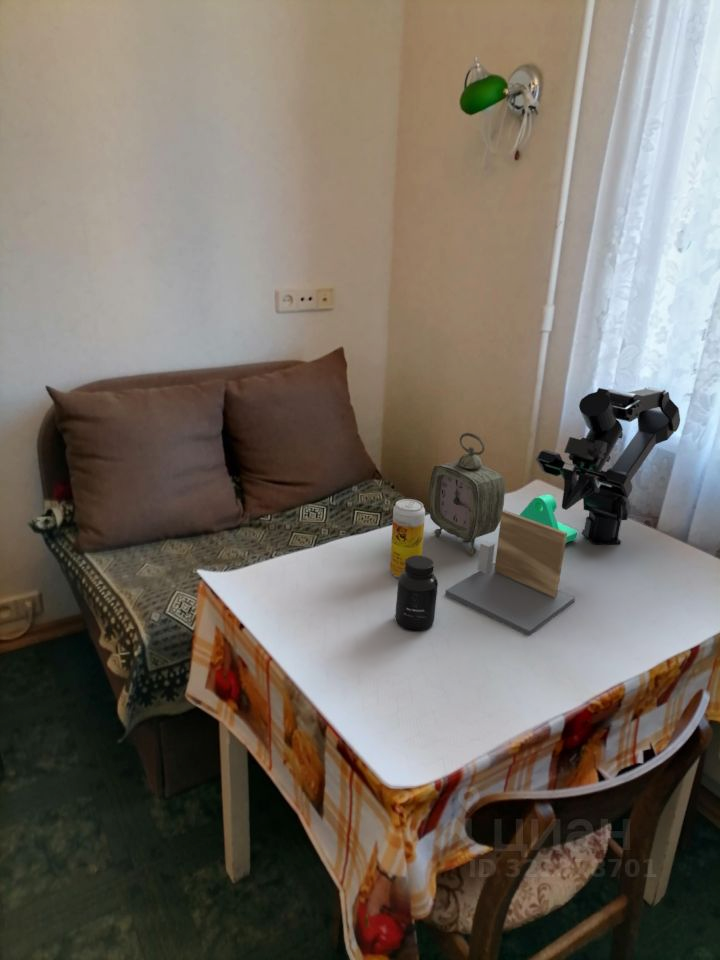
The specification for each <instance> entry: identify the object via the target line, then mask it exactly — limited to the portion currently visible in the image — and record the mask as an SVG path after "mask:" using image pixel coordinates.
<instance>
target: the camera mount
mask: <svg viewBox="0 0 720 960" xmlns="http://www.w3.org/2000/svg"><path fill="white" fill-rule="evenodd" d="M557 505H558V504H557V501H556V499H555V498H554V496H553V495H551V494H547V493H546V494H543V495H539V496H537V497H534V498H533V499H532V500H531V501H530V502H529V503H528V505H527V506H526V507H525V508H524V509H523V510H522V511H521V513H519V514H518V515H519V516H522V517H525V518H528V519H530V520H533V521H536V522H539V523H541V524H544V525H547V526H550V527H552V528H555V529H558V530H561V531H563V532H566V533H567V538H566V543H570V542H572V541H574V540H576V539H577V537H578V530H577V529H574V528H572V527H569V526H567V525H566V524H563V523H561V522H559V521H557V519H556V516H555V512H556V510H557V507H558V506H557Z"/></svg>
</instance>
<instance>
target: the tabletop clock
mask: <svg viewBox="0 0 720 960" xmlns="http://www.w3.org/2000/svg"><path fill="white" fill-rule="evenodd" d="M464 437H471V438H474V439H475V440H477V441H478V442H479V443H480V445H481V451H476V450H475V447H473V446H469V447H467V446H465V445H464V444H463V439H464ZM459 445H460V446H461V449H463V450H464V451H465V452H467V453H466V454H462V455H461V456H460V457H459V460H458V459H457V460H455V461H450V462H447V463H443V464H438V465H435V466H434V467H433V469H432V472H431V477H430V483H429V490H428V511H429V517H430V520H431V521H432V522H433V523H434V524H435V526H438V527H439V528H436V529H435V530H434V532H433V534H434V535H435V536H436V537H439V536H441V535H442V531H443V530H444V531H445V532H447V533H449V534H450V535H453V536H455V537H457V538H459V539H462V540H465V541H466V540H467V541H470V548H469V549H468V554H469V555H470V556H474V555H476V554H477V549H476V547H475V541H476V539H477V538H479V537H483V536H485V535H488V534H491V533H495V531H496V530H497V528H498V526H499V525H500V521H501V513H502V511H504V506H505V505H504V503H505V494H506V483H505V478H504V477H503V475H502V474H501V473H499V472H497V471H496V470H493V469H491V468H489V467H487V466H485V465H483V462H482V459H481V458H480V456H478V455H482V454H483V453H484V452H485V448H486V447H485V444H484V441H483V439H482V438H480V437H479V436H478V435H477V434H474V433H471V432H465V433H462V434H461V436H460V437H459Z"/></svg>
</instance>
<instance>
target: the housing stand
mask: <svg viewBox="0 0 720 960" xmlns="http://www.w3.org/2000/svg"><path fill="white" fill-rule="evenodd" d="M495 546H496V544H495V542H492V541H489V540H484V541H482V542H480V546H479V554H478V556H479V557H478V564H477V571H476V572H475V573H473V574H471V575H469V576H468V577H466V578H465V579H463V580H461V581H459V582H457V583H456V584H454V585H452V586H451V587H449V588H447V589H445V596H447V597H449V598H451V599H453V600H455V601H457V602H459V603H462V604H463V605H465V606H467V607H470V609H471V608H472V609H474V610H475V611H477V612H479V613H481V614H483V615H486V616H487V617H490V618H492V619H494V620H495V621H498V622H500V623H502V624H504V625H506V626H508V627H510V628H512V629H514V630H516V631H518V632H520V633H522V634H524V635H526V636H528V637H530V636H531V635H532V634H533V633H535V632H536V631H537V630H539V629H540V628H541V627H543V626H544V625H545V624H547V623H548V622H550V621H551V620H552V619H554V618H555V617H556V616H558V614H561V613H562V611H564V610H565V609H567V608H568V607H570V606H571V605H572V604H574V603H575V600H576V597H575V596H573V595H571V594H568V593H567V592H564V591H562V590H560V589H558V593H557V596H556V597H552V596H550V595H547V594H545V593H543V592H541V591H538V590H536V589H534V588H531V587H529V586H527V585H525V584H522V583H520V582H518V581H515V580H513V579H511V578H509V577H506V576H504V575H502V574H500V573H497V572H495V571H494V570H495V562H493V561H494V554H495Z"/></svg>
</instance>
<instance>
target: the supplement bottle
mask: <svg viewBox="0 0 720 960" xmlns="http://www.w3.org/2000/svg"><path fill="white" fill-rule="evenodd" d="M434 567H435V564H434V561H433V559H431V558H430V557H427V556H424V555H422V556H411V557H409V558H407V560H406V564H405V571H404V572H402V573H401V575H400V576H399V578H397V579H398V580H397V591H396V601H395V602H396V604H395V622H396V624H397V625H398V626H399V627H400V628H401V629H403V630H405V631H408V632H412V633H413V632H414V633H415V632H416V633H419V632H420V633H421V632H425V631H427V630H429V629H431V628H432V626H433V625H434V622H435V615H436V606H437V605H436V604H437V597H438V595H437V594H438V586H439V585H438V584H439V581H438V578H437V577H436V575H435V574H434V572H435V571H434Z"/></svg>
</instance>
